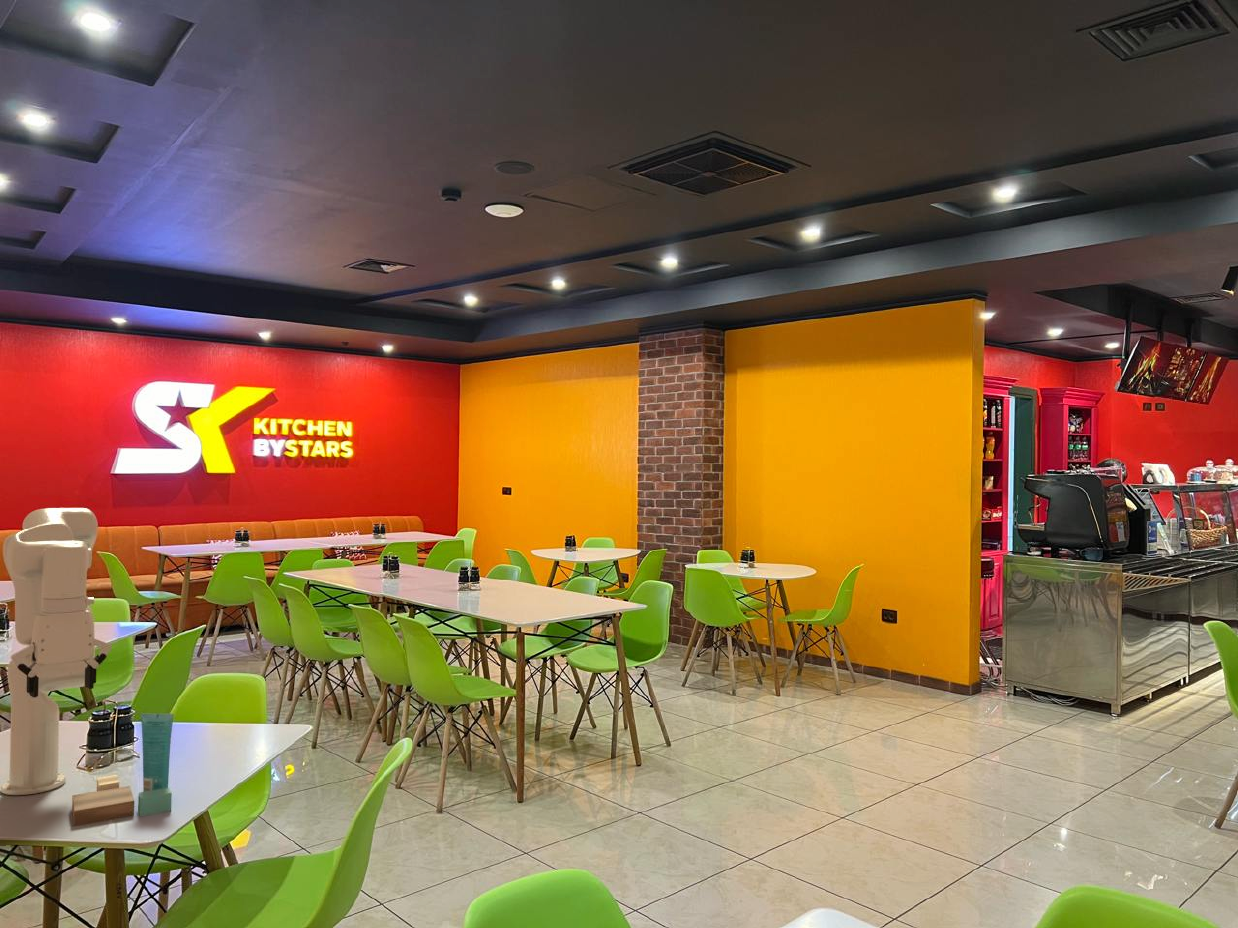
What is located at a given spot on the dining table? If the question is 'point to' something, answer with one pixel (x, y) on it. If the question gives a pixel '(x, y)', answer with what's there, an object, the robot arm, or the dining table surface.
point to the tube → (156, 749)
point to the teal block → (154, 801)
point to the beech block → (107, 782)
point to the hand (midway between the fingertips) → (61, 691)
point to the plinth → (102, 805)
